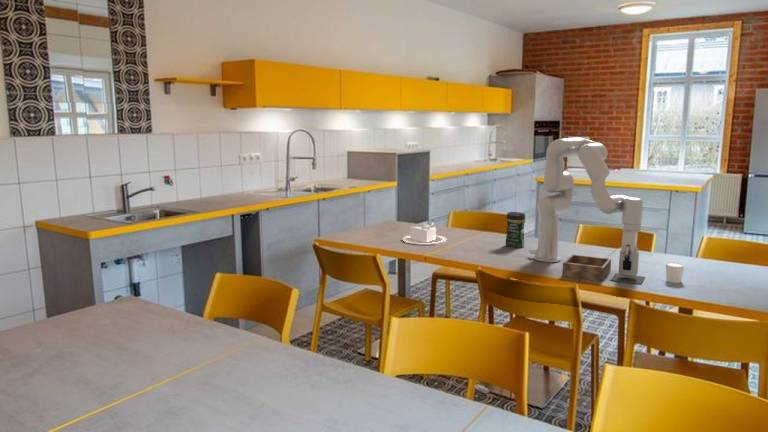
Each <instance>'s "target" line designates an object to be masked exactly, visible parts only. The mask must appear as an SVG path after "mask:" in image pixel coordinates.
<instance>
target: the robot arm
mask: <svg viewBox="0 0 768 432" xmlns="http://www.w3.org/2000/svg"><path fill="white" fill-rule="evenodd" d="M608 155H609V154H608V149H607V147H606V146H605V144H603V143H600V142H597V141H593V140H590V139H587V138H582V137H565V138H563V137H562V138H558V139H555V140H553V141H552V142H550V143H549V145H548V146H547V148H546V155H545V157H546V158H545V159H546V161H545V168H544V175H543V176H544V177H543V186H542V187H543V189H544V191H545V192H547V193H552V194H546V195H543V196H541V197H540V198H539V199H538V201H537V206H536V207H537V215H538V230H537V231H538V236H537V237H538V238H537V248H536V249H532V248H529V251H528V252H529V253H528V254H532V255H534V257H533V259H534V260H536V261H538V262H542V263H558V262H561V261H562V257H561V256H560V255H559V239H560V238H559V237H560V221H559V218H558V214H563V213H566V212H568V211H569V210H570V208H571V206H572V200H573V193H574V187H575V180H574V177H573V175H572V174H571V173H570V172H567V171H565V160H564V158H567V157H568V158H569V157H578V158H579V159H578V160H579V161H580V163H581V164H582V166H583V168H584V169H585V171H586V174H587V175H588V176H589V179H590V181H591V182H590V192H591V196H592V199H593V200H594V202H595V204H596V206H597V208H598V209H599V211H600V212H602V213H603V214H606V215H611V214H619V213H622V214H621V215H622V216H621V227H620V228H621V229H620V230H621V231H622V239H621V248H620V250H621V254H622V253H624V252H625V253H624V260H623V270H631V262H632V261H631V255H633V254H634V251H635V249H636V248H637V246H638V245H637V243H638V234H639V232H641V230H642V221H643V220H642V218H643V207H644V206H643V205H644V204H643V203H644V202H643V199H641V198H640V197H631V196H626V195H624V194H616V195H610V193H609V192H608V189H607V188H606V179H607V177H609V175H610V168H609V167H608V165H607V164H606V162H605V160H607V157H608ZM553 193H555V194H553ZM629 252H631V254H629ZM628 255H630V258H629V256H628Z"/></svg>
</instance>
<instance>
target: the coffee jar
mask: <svg viewBox="0 0 768 432" xmlns="http://www.w3.org/2000/svg"><path fill="white" fill-rule="evenodd" d="M505 221H506V223H507V227H506V228H507V229H506V237H505V246H506V247H510V246H511V248H516V247H519V248H523V247H524V246H525V224H526V214H525V212H517V211H510V212H507V213H506V220H505Z"/></svg>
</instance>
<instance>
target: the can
mask: <svg viewBox="0 0 768 432" xmlns="http://www.w3.org/2000/svg"><path fill="white" fill-rule="evenodd" d="M624 253H625V252H624ZM624 253H622V254H621V249H620V250H619V261H618V273H619V274H620V275H622V276H625V277H634V276H638V274H639V273H638V272H639V270H638V269H639V257H640V251H639V250H638V247H636V249H635V251H634V254H633V255H631V261H632V262H631V270H623V260H624ZM629 254H631V252H629ZM628 256H629V258H630V255H628Z"/></svg>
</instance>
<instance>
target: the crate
mask: <svg viewBox="0 0 768 432" xmlns="http://www.w3.org/2000/svg"><path fill="white" fill-rule="evenodd" d="M611 268H612V258H606V257H600V256H599V257H598V256H589V255H588V256H587V255H580V254H571V255H570V256H569V257H568V258H566V259H565V260H564V261H563V262H562V275H561V276H562V277H566V276H569V278H573V279H575V278H576V279H583V280H588V281H589V280H591V281H599V282H604V281H605V280H606V278H607V277H608V276H609V275H610V274H611V270H612V269H611Z"/></svg>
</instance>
